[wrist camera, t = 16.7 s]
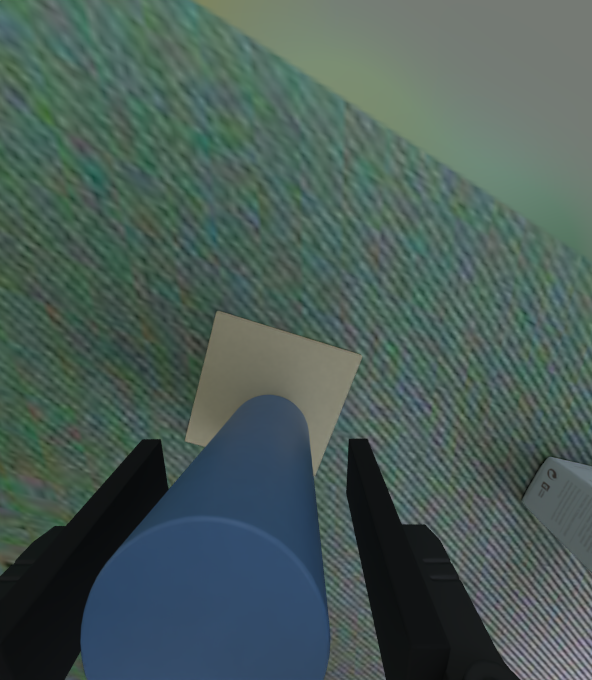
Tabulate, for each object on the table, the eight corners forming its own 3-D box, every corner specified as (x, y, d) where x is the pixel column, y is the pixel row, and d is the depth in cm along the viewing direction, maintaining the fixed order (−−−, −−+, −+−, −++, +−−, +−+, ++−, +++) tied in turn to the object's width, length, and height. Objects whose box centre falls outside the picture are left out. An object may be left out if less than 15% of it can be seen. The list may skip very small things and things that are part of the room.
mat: (361, 354, 17) (362, 356, 17) (314, 472, 19) (314, 476, 19) (218, 310, 17) (216, 311, 16) (186, 437, 19) (184, 441, 18)
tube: (26, 620, 6) (183, 818, 6) (223, 466, 6) (382, 667, 6) (212, 427, 18) (262, 490, 18) (275, 378, 18) (325, 441, 18)
